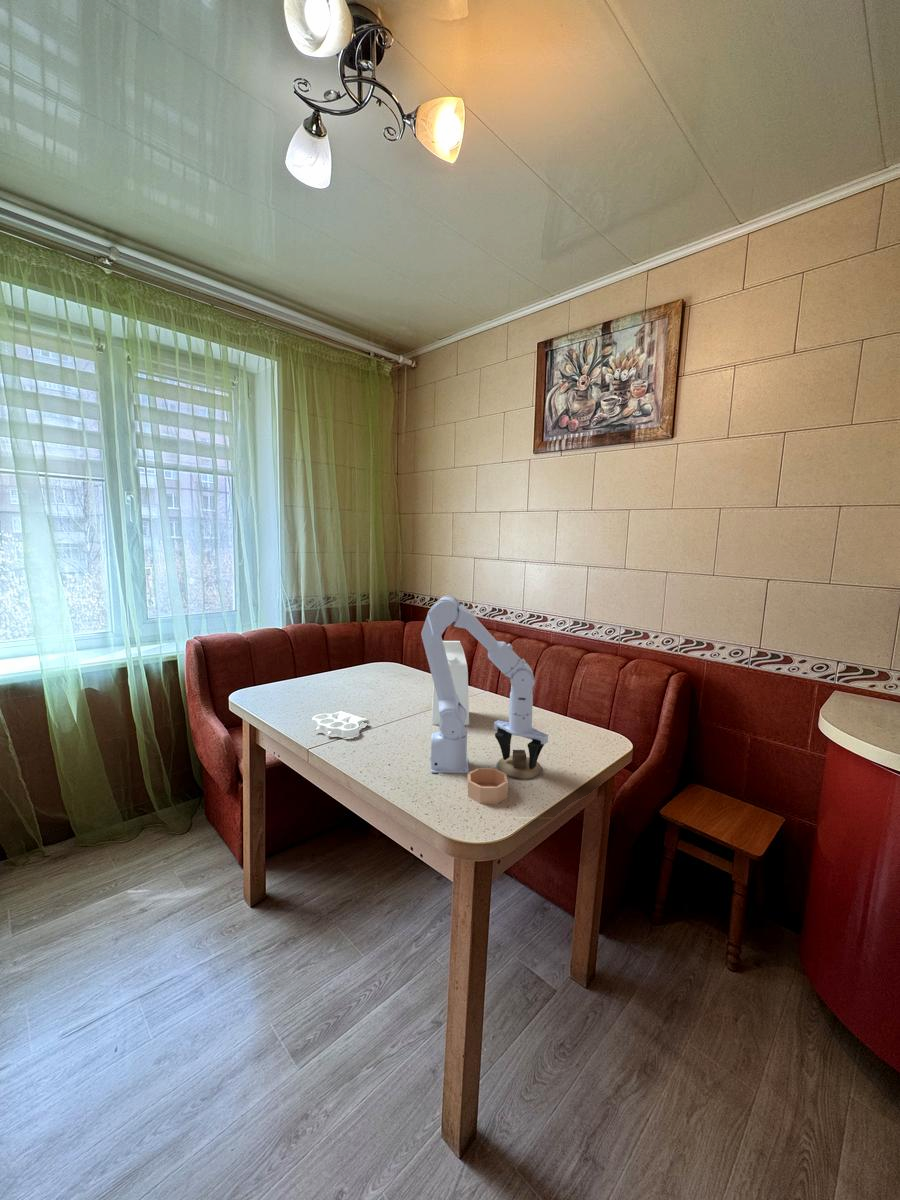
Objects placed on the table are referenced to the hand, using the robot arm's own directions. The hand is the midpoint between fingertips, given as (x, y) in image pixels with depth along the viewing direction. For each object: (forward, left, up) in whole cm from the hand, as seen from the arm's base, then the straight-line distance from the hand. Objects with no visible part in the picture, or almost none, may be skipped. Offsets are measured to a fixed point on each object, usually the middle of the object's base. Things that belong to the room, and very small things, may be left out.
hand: (519, 762), depth 115 cm
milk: (-18, +34, -2) cm, 39 cm away
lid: (0, 0, -2) cm, 2 cm away
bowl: (-9, -12, -2) cm, 15 cm away
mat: (0, 0, -2) cm, 2 cm away
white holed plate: (-52, +24, -3) cm, 58 cm away
